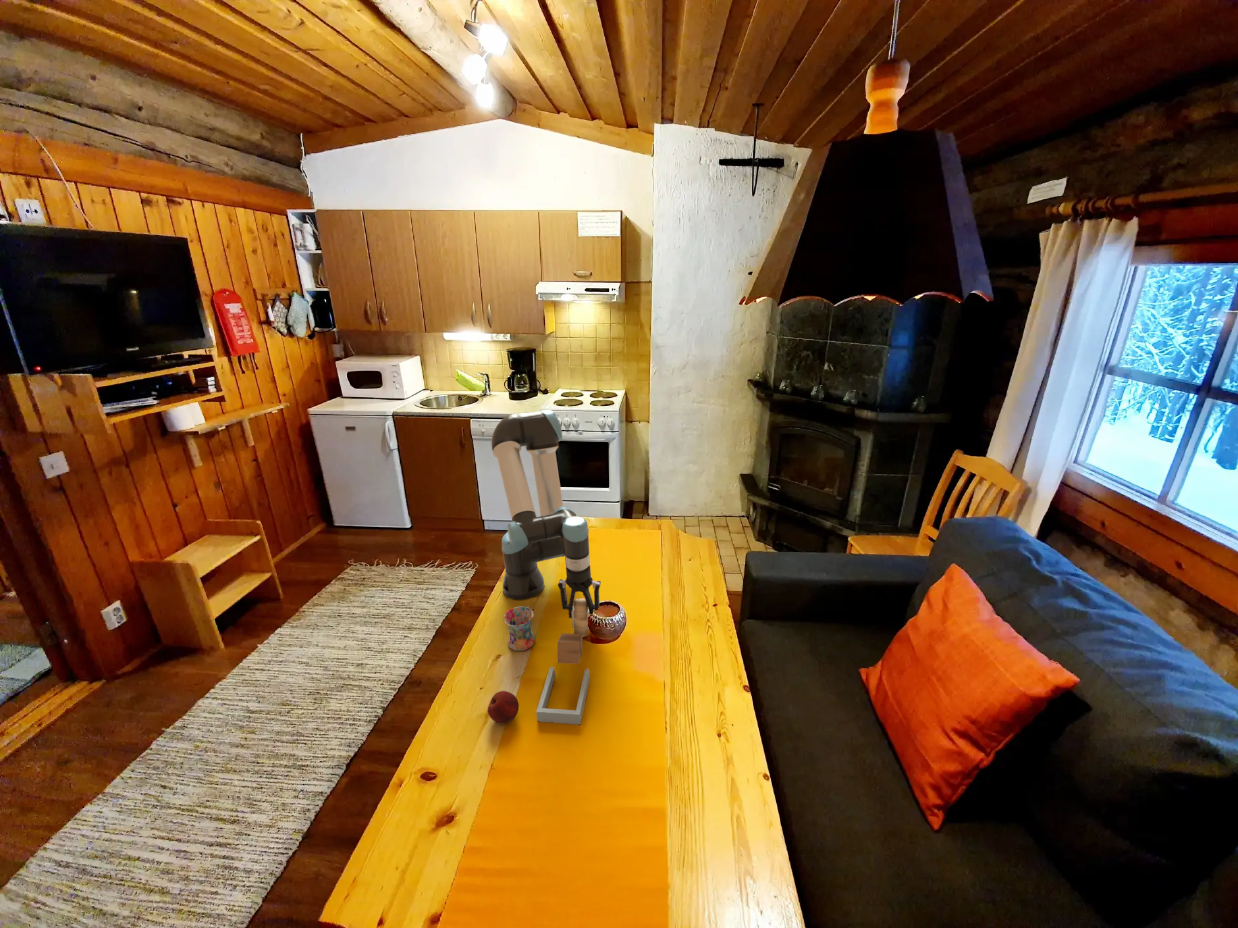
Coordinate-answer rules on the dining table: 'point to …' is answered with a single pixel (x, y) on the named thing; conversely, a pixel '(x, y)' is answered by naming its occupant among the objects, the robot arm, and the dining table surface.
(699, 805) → the dining table surface
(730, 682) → the dining table surface
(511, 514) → the robot arm
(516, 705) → the apple
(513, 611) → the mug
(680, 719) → the dining table surface
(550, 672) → the grey u-shaped frame
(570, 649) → the tethered block
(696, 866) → the dining table surface
